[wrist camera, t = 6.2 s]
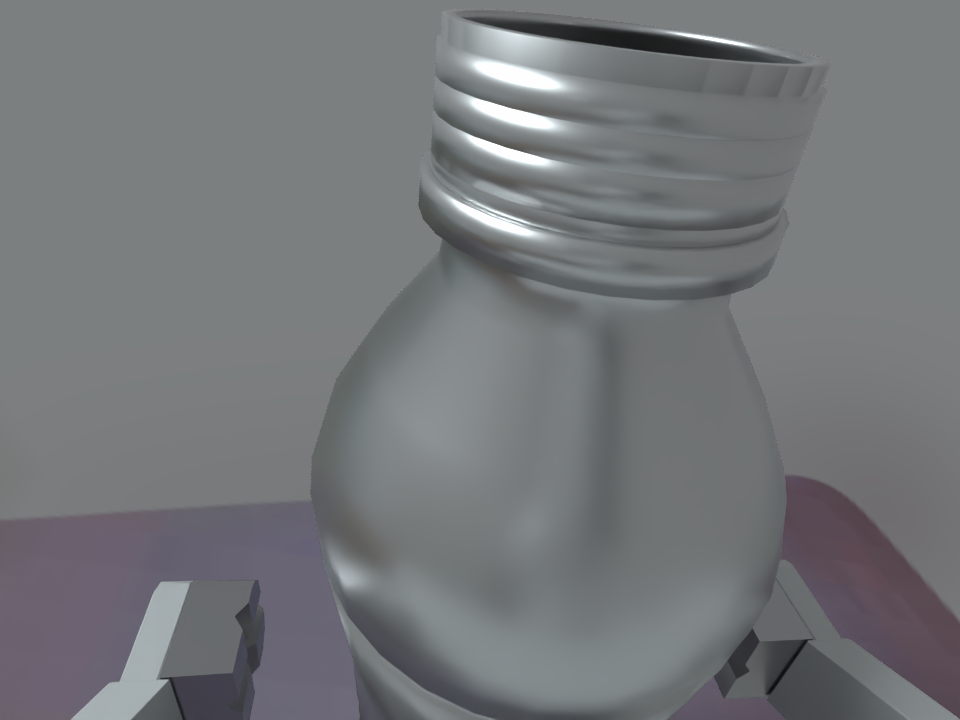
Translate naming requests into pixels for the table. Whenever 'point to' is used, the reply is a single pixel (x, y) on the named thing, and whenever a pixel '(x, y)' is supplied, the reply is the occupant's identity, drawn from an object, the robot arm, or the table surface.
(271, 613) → the table surface
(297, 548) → the table surface
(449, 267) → the plastic bottle
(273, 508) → the table surface
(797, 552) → the table surface
